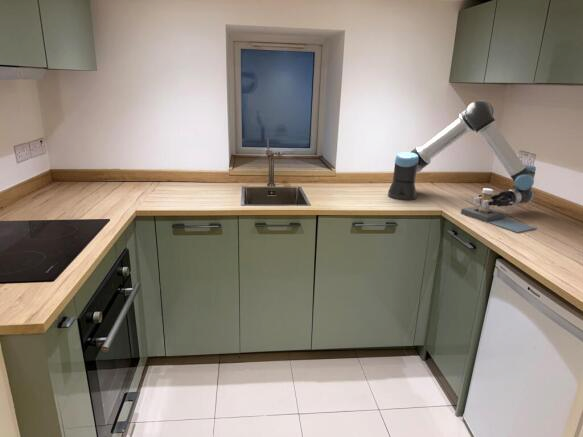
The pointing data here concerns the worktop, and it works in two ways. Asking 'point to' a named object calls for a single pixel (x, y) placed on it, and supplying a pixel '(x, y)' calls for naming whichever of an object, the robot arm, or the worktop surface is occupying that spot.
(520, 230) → the slate mat
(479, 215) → the collar block
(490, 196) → the sprinkles bottle
